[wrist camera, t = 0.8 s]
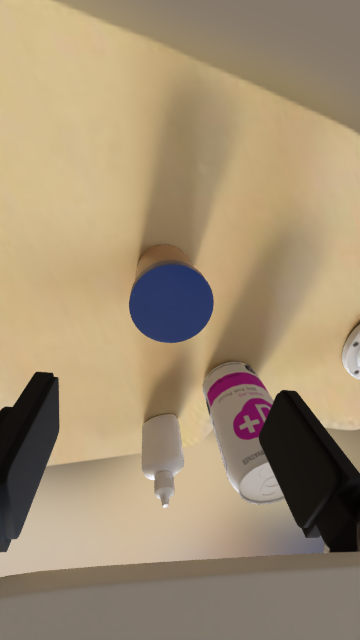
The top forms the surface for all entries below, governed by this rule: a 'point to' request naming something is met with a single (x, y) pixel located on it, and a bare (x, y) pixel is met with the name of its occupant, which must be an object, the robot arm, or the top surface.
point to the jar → (160, 256)
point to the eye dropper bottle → (162, 454)
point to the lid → (170, 301)
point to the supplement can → (242, 429)
